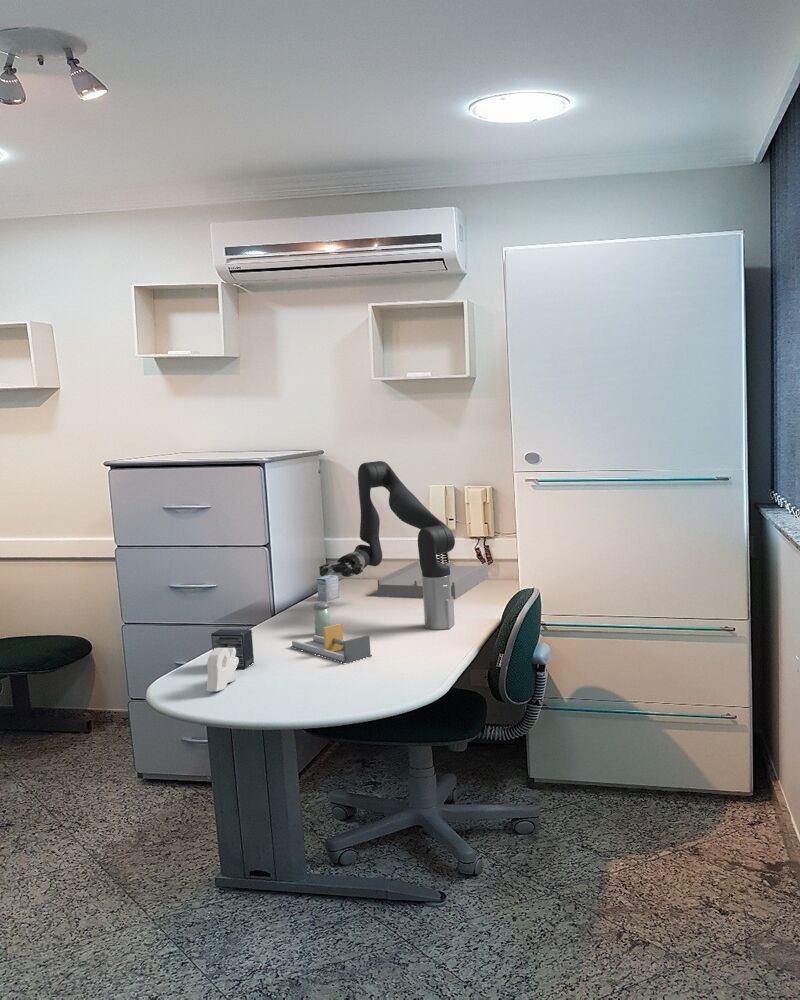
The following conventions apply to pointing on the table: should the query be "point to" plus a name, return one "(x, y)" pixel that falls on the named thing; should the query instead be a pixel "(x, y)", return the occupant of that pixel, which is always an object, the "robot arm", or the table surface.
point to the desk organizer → (411, 585)
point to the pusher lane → (350, 653)
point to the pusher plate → (333, 637)
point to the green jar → (321, 617)
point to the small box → (236, 644)
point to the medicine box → (328, 587)
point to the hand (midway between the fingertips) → (333, 573)
